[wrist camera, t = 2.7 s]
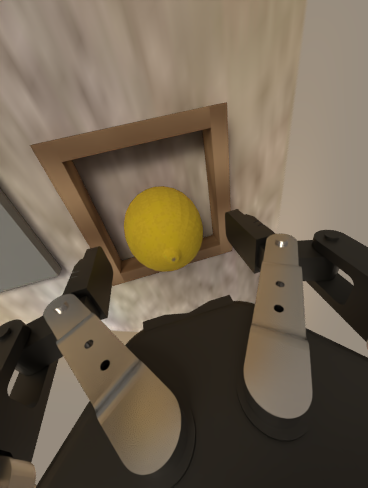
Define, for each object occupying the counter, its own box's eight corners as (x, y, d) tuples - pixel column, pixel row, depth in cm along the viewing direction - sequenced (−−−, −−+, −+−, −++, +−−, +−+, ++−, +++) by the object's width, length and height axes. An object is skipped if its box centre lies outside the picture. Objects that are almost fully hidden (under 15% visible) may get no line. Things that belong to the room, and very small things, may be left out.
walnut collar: (43, 142, 13) (30, 145, 11) (215, 104, 14) (226, 102, 12) (114, 272, 20) (112, 286, 18) (224, 240, 21) (231, 250, 19)
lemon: (175, 238, 19) (197, 298, 13) (119, 225, 17) (112, 289, 11) (196, 187, 17) (236, 228, 10) (134, 165, 15) (136, 200, 8)
